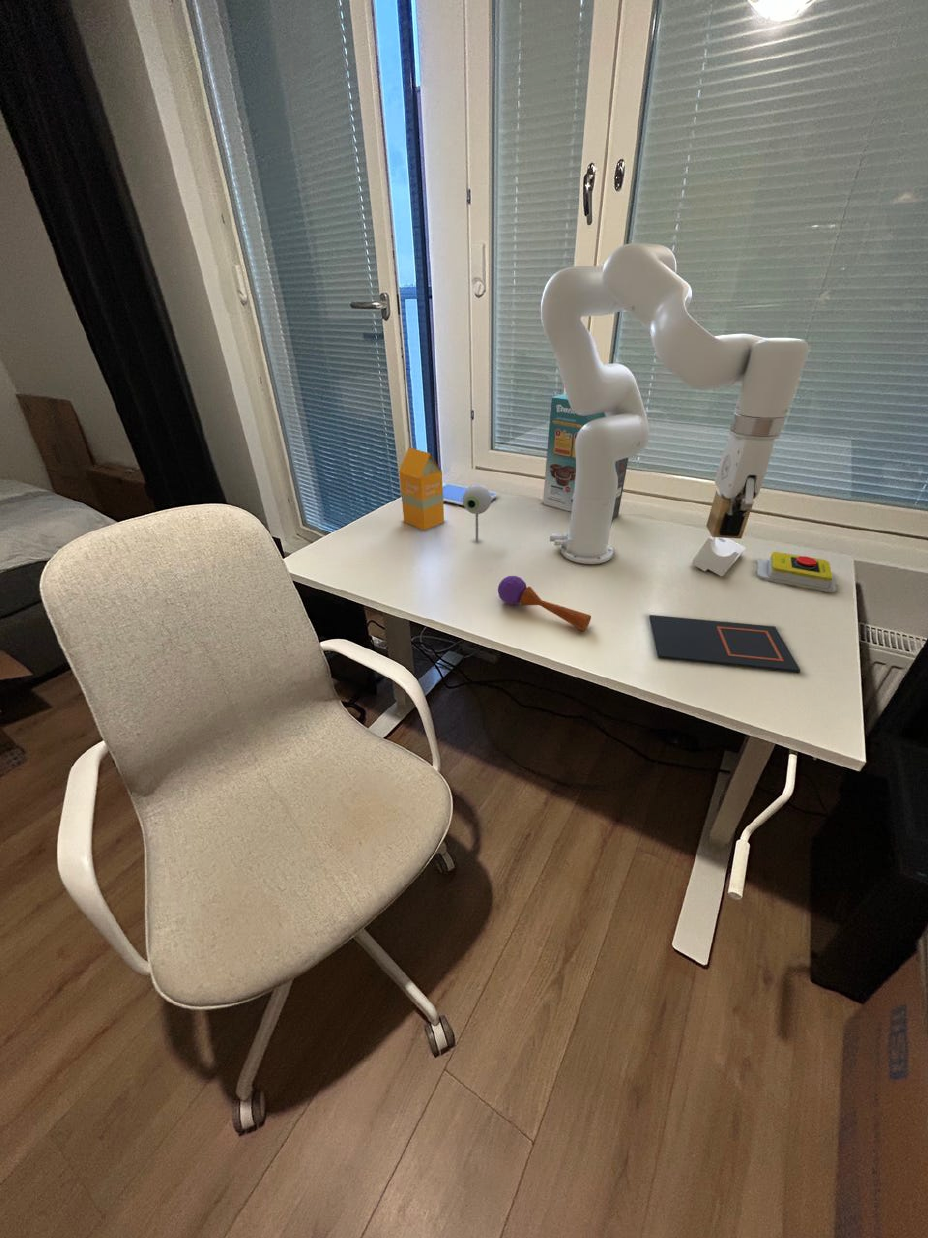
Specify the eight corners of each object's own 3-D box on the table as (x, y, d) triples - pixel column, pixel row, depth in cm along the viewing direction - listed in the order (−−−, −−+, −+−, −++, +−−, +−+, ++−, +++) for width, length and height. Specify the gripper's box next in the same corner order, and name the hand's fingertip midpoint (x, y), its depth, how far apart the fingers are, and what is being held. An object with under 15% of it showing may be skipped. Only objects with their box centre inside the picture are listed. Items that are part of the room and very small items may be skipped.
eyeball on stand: (459, 545, 124) (457, 488, 115) (469, 533, 129) (468, 479, 121) (484, 549, 122) (485, 491, 113) (494, 537, 127) (495, 482, 118)
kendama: (581, 622, 88) (492, 582, 97) (577, 643, 92) (492, 603, 101) (596, 603, 91) (508, 566, 100) (592, 624, 95) (508, 587, 105)
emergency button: (844, 575, 100) (763, 560, 105) (835, 593, 102) (756, 578, 108) (839, 556, 106) (763, 544, 112) (831, 574, 109) (757, 560, 115)
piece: (712, 537, 88) (725, 493, 83) (706, 526, 92) (718, 483, 87) (741, 538, 87) (756, 494, 82) (734, 527, 91) (747, 485, 86)
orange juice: (423, 513, 141) (419, 444, 130) (444, 522, 136) (441, 450, 124) (403, 521, 136) (396, 450, 125) (424, 530, 131) (419, 456, 120)
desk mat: (658, 658, 85) (659, 655, 85) (649, 617, 96) (650, 614, 96) (799, 673, 82) (800, 669, 81) (774, 628, 92) (775, 625, 92)
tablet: (425, 498, 151) (425, 494, 150) (447, 486, 160) (447, 482, 159) (477, 510, 142) (477, 506, 142) (498, 497, 151) (498, 493, 150)
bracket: (719, 579, 109) (738, 553, 104) (691, 563, 112) (708, 537, 107) (737, 559, 117) (756, 534, 112) (710, 544, 120) (727, 519, 115)
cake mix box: (618, 515, 138) (638, 403, 121) (608, 522, 134) (627, 407, 117) (553, 498, 150) (563, 393, 133) (542, 503, 146) (551, 397, 129)
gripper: (719, 413, 86) (693, 510, 96) (746, 437, 72) (713, 547, 83) (764, 414, 85) (733, 512, 95) (801, 439, 71) (760, 550, 81)
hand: (724, 527), depth 89 cm, fingers closed on piece, 5 cm apart
